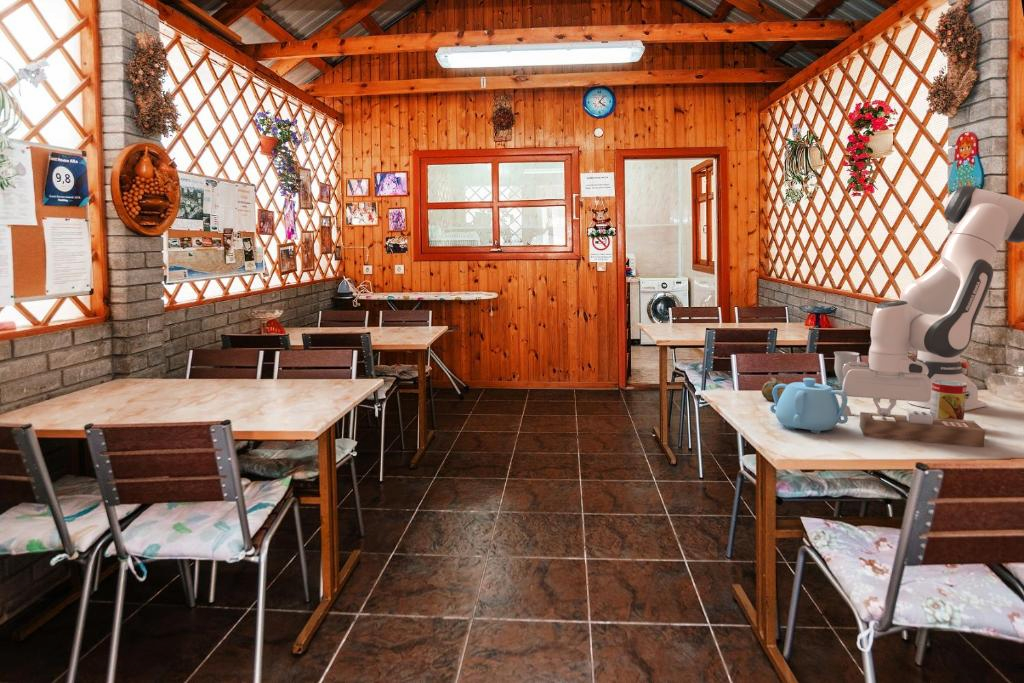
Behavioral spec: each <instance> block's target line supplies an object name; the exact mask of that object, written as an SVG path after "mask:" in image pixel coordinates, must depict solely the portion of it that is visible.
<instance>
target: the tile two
mask: <svg viewBox="0 0 1024 683" xmlns="http://www.w3.org/2000/svg"><path fill="white" fill-rule="evenodd" d="M906 416H907V418H906V420H907V421H908V423H920V424H933V416H932V415H931V414H930V411H920V410H919V411H918V410H906Z"/></svg>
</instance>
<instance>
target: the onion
mask: <svg viewBox="0 0 1024 683" xmlns="http://www.w3.org/2000/svg"><path fill="white" fill-rule="evenodd" d="M778 384H785V383H784V382H783V381H782V380H779V379H778V378H775V377H774V376H771V377H770V380H769V381H766V382H765V383H764V384H763V385H762V387H761V394H762V397H763V398H764V399H765V400H767V401H769V402H774V398H773V394H772V391H773V388H774V387H775V386H776V385H778ZM784 389H785V388H783V387H780V388H778V389H777V396H778V399H780V397H781V395H782V393H783V391H784Z"/></svg>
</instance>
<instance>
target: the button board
mask: <svg viewBox="0 0 1024 683" xmlns="http://www.w3.org/2000/svg"><path fill="white" fill-rule="evenodd" d="M872 416H879V415H877V412H864V411H860V413H859V424H858V425H859V426H858V427H859V428H860V431H861V432H862V435H863V437H866V438H876V439H877V438H878V439H888V440H902V441H913V442H922V443H923V442H924V443H933V444H934V443H935V444H946V445H957V446H968V447H979V448H984V446H985V441H986V440H985V438H986V430H985V429H984V428H983V427H981V426H980V425H979V424H978V423H977V422H975V421H974V420H970V419H964V420H957V419H944V418H933V424H920V423H908V421H907V420H906V418H907V415H904V414H891V413H890V416H882V417H894V419H895V420H896V421H897V422H896V421H883V420H873V419H872ZM942 421H945V422H958V423H965V424H966V425H967V426H968V427H957V426H945V425H944V424H943V423H942Z"/></svg>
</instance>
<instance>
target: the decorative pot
mask: <svg viewBox="0 0 1024 683" xmlns="http://www.w3.org/2000/svg"><path fill="white" fill-rule="evenodd" d="M802 381H803V382H802ZM802 381H797V382H796V381H795V382H791V383H788V384H787V383H784V384H778V385H776V386H775V387H774V388H773V391H772V394H773V398H774V401H773V402H774V403H773V404H772V403H771V405H770V408H769V410H770V412H771V413H772V414H774V415H775V417H776V419H777V421H778V422H779V424H781V425H783V426H785V429H787V428H789V429H788V430H796V429H803V430H809V431H810V433H812V432H813V433H812V434H822V431H829V430H832V429H834V427H836V425H837V424H841V425H842V424H846V423H847V422H848V421H849V417H848V415H846V414H842V413H843V411H844V409H845V407H846V405H847V406H848V396H846V395H845V394H844V393H843V392H842V391H841V390H838V389H833V387H832V386H830V385H827V384H821V383H817V379H816V378H812V377H804V378H803V379H802ZM780 387H783V388H785V389H784V391H783V393H782V395H781V397H780V399H778V396H777V389H778V388H780ZM837 395H838V396H840V398H841V397H842V399H843V402H842V401H841V402H842V405H841V407H839V405H840V403H839V400H838V398H837ZM842 399H841V400H842ZM842 417H843V419H842Z"/></svg>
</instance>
